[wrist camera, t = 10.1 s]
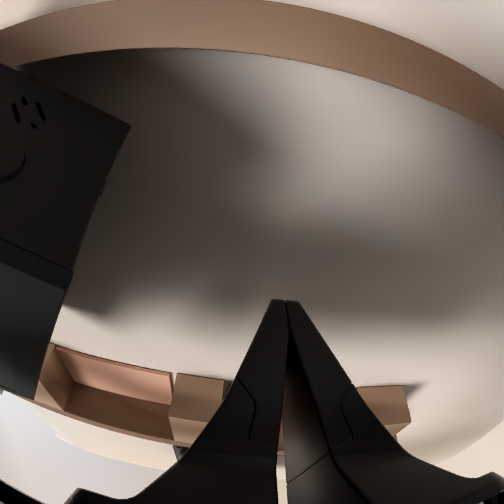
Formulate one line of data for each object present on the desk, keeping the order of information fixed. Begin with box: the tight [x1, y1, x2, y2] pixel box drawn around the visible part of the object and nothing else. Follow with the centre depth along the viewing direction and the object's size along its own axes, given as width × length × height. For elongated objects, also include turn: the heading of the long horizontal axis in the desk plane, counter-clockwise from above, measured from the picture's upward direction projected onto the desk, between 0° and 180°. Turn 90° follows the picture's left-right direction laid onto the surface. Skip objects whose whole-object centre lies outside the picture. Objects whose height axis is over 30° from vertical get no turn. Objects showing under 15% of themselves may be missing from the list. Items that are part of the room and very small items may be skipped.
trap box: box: [0, 0, 504, 455], centre depth 10 cm, size 20×28×3 cm
